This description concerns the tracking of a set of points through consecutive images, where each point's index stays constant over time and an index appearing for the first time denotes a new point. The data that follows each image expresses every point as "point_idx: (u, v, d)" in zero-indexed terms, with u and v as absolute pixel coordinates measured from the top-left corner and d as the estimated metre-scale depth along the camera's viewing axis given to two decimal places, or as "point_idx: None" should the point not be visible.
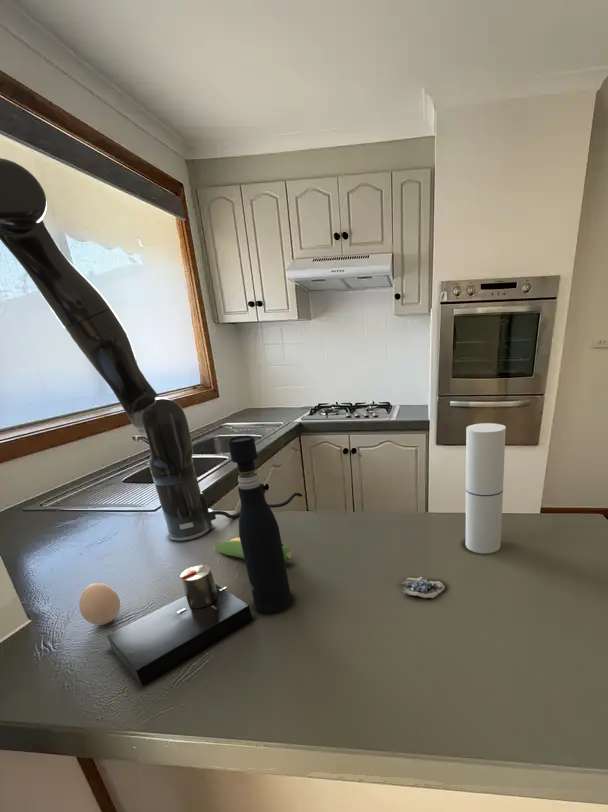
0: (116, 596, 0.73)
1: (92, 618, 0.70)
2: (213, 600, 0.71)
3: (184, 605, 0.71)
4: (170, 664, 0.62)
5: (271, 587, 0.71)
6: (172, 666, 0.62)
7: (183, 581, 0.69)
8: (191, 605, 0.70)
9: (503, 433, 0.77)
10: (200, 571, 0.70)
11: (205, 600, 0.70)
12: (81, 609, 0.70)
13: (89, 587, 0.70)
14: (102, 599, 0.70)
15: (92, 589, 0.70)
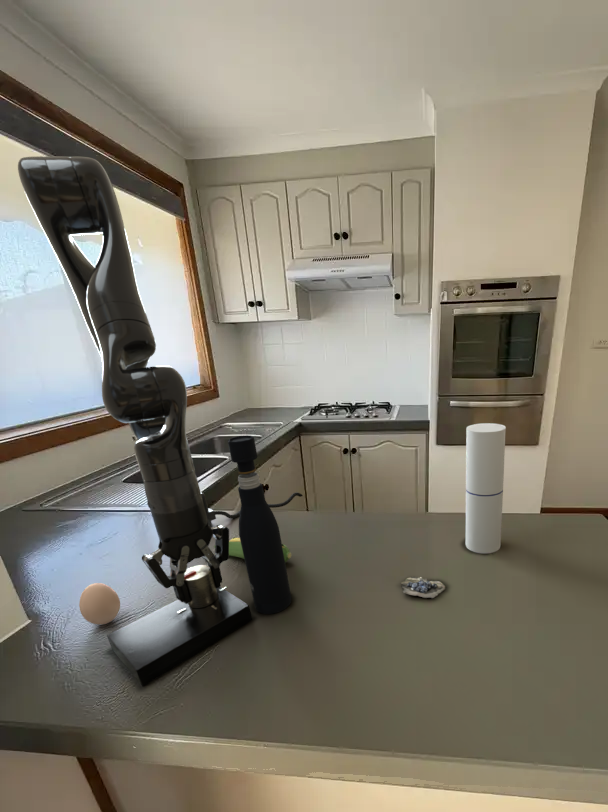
0: (116, 596, 0.73)
1: (92, 618, 0.70)
2: (213, 600, 0.71)
3: (184, 605, 0.71)
4: (170, 664, 0.62)
5: (271, 587, 0.71)
6: (172, 666, 0.62)
7: None
8: (191, 605, 0.70)
9: (503, 433, 0.77)
10: (200, 571, 0.70)
11: (205, 600, 0.70)
12: (81, 609, 0.70)
13: (89, 587, 0.70)
14: (102, 599, 0.70)
15: (92, 589, 0.70)
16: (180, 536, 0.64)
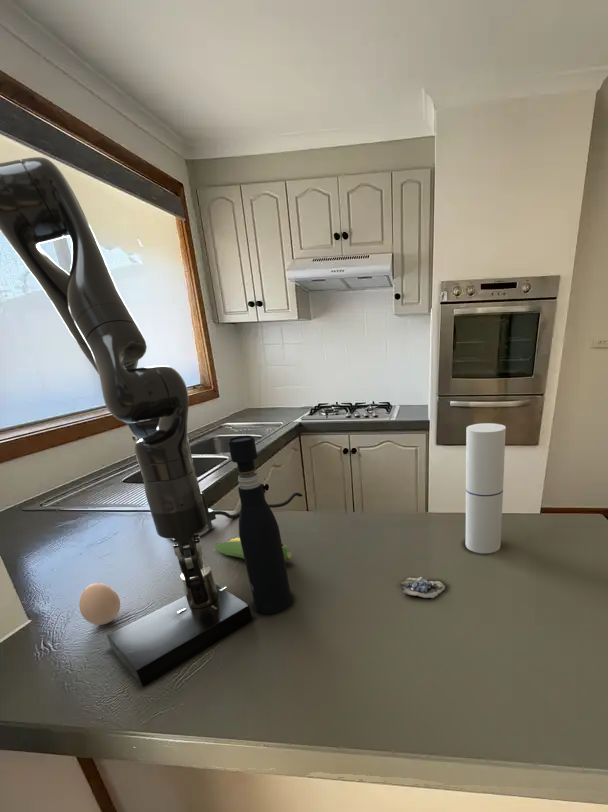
0: (116, 596, 0.73)
1: (92, 618, 0.70)
2: None
3: (184, 605, 0.71)
4: (170, 664, 0.62)
5: (271, 587, 0.71)
6: (172, 666, 0.62)
7: None
8: (207, 603, 0.71)
9: (503, 433, 0.77)
10: None
11: (216, 591, 0.72)
12: (81, 609, 0.70)
13: (89, 587, 0.70)
14: (102, 599, 0.70)
15: (92, 589, 0.70)
16: (204, 526, 0.67)
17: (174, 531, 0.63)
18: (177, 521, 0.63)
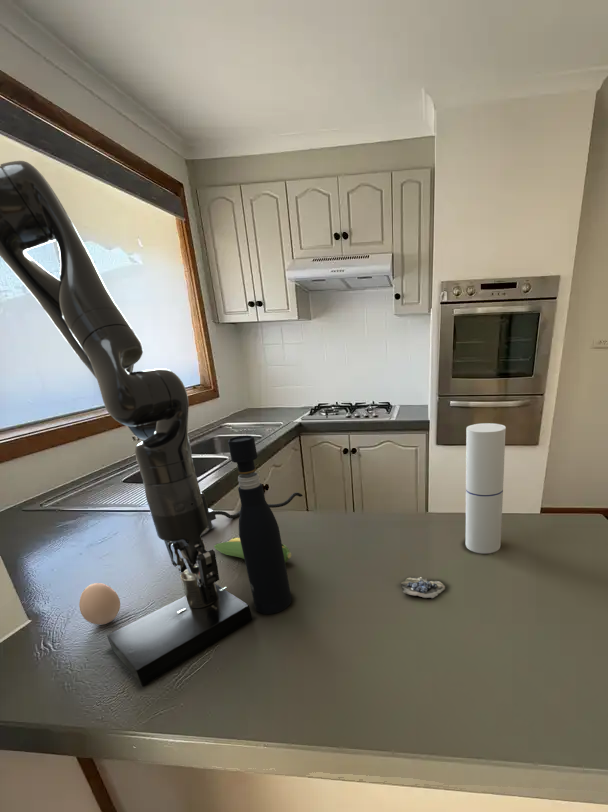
0: (116, 596, 0.73)
1: (92, 618, 0.70)
2: None
3: (184, 605, 0.71)
4: (170, 664, 0.62)
5: (271, 587, 0.71)
6: (172, 666, 0.62)
7: None
8: None
9: (503, 433, 0.77)
10: None
11: None
12: (81, 609, 0.70)
13: (89, 587, 0.70)
14: (102, 599, 0.70)
15: (92, 589, 0.70)
16: (207, 524, 0.68)
17: (185, 531, 0.64)
18: (188, 521, 0.64)
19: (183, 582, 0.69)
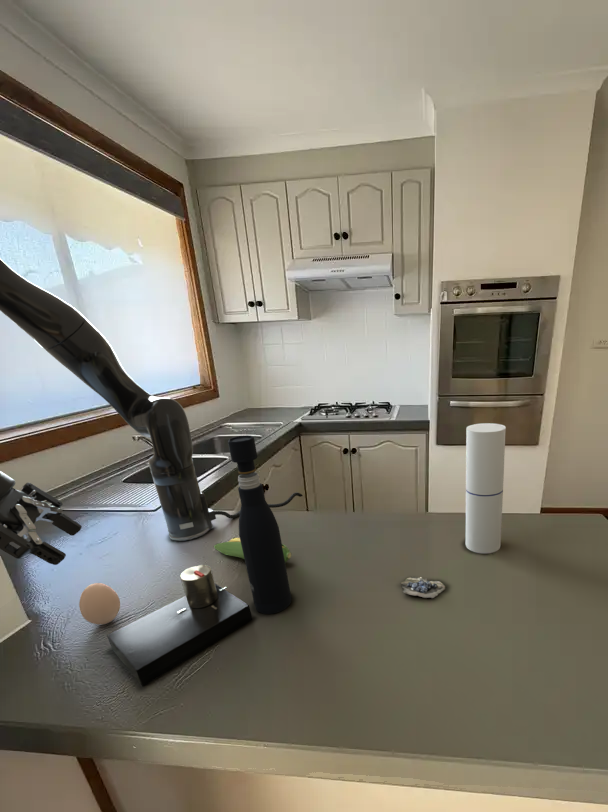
0: (116, 596, 0.73)
1: (92, 618, 0.70)
2: None
3: (184, 605, 0.71)
4: (170, 664, 0.62)
5: (271, 587, 0.71)
6: (172, 666, 0.62)
7: (205, 577, 0.69)
8: (213, 599, 0.71)
9: (503, 433, 0.77)
10: (196, 570, 0.71)
11: None
12: (81, 609, 0.70)
13: (89, 587, 0.70)
14: (102, 599, 0.70)
15: (92, 589, 0.70)
16: (3, 491, 0.61)
17: None
18: None
19: (183, 582, 0.69)
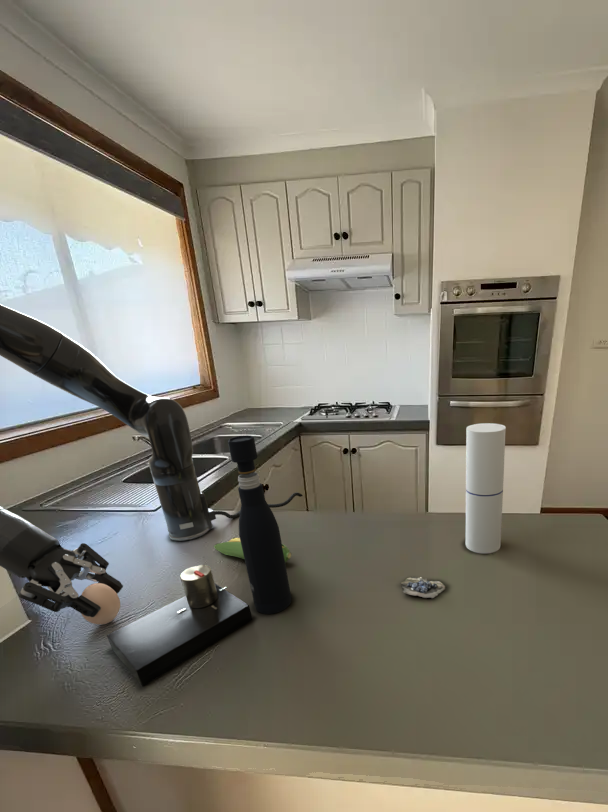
0: (116, 596, 0.73)
1: (92, 618, 0.70)
2: None
3: (184, 605, 0.71)
4: (170, 664, 0.62)
5: (271, 587, 0.71)
6: (172, 666, 0.62)
7: (205, 577, 0.69)
8: (213, 599, 0.71)
9: (503, 433, 0.77)
10: (196, 570, 0.71)
11: None
12: None
13: (89, 587, 0.70)
14: (102, 599, 0.70)
15: (92, 589, 0.70)
16: (38, 551, 0.66)
17: (14, 571, 0.66)
18: (5, 562, 0.65)
19: (183, 582, 0.69)
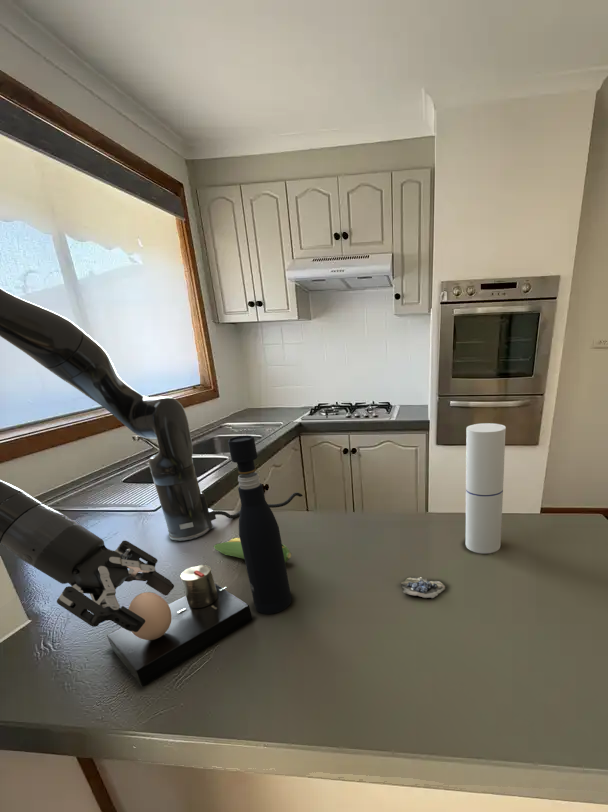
0: (168, 607, 0.63)
1: (142, 633, 0.61)
2: None
3: (184, 605, 0.71)
4: (170, 664, 0.62)
5: (271, 587, 0.71)
6: (172, 666, 0.62)
7: (205, 577, 0.69)
8: (213, 599, 0.71)
9: (503, 433, 0.77)
10: (196, 570, 0.71)
11: None
12: None
13: (139, 597, 0.61)
14: (154, 611, 0.61)
15: (142, 599, 0.61)
16: (84, 553, 0.57)
17: (55, 576, 0.56)
18: (46, 566, 0.56)
19: (183, 582, 0.69)
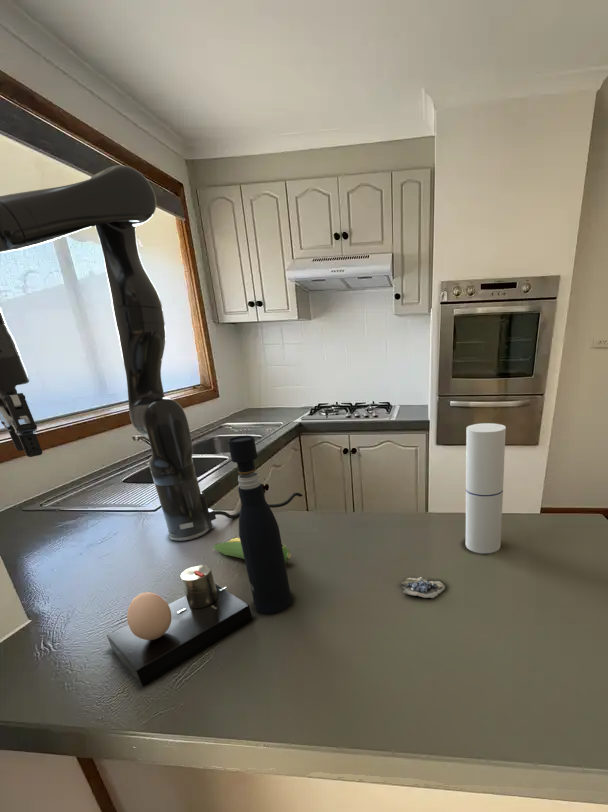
0: (168, 607, 0.63)
1: (142, 633, 0.61)
2: None
3: (184, 605, 0.71)
4: (170, 664, 0.62)
5: (271, 587, 0.71)
6: (172, 666, 0.62)
7: (205, 577, 0.69)
8: (213, 599, 0.71)
9: (503, 433, 0.77)
10: (196, 570, 0.71)
11: None
12: (130, 623, 0.61)
13: (139, 597, 0.61)
14: (154, 611, 0.61)
15: (142, 599, 0.61)
16: (27, 380, 0.71)
17: None
18: None
19: (183, 582, 0.69)
